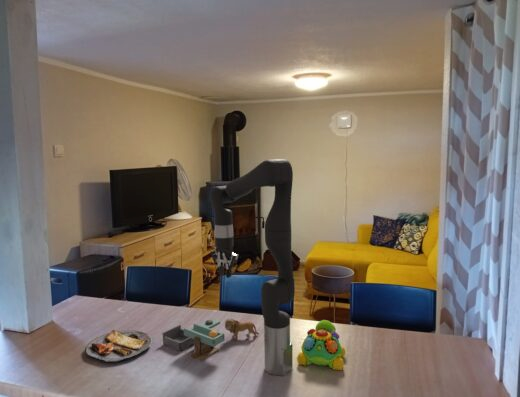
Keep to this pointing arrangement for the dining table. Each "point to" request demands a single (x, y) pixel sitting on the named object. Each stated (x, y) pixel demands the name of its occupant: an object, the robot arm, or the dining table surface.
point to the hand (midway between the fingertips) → (225, 276)
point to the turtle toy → (322, 347)
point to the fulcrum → (202, 350)
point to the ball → (213, 334)
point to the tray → (177, 339)
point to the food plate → (118, 345)
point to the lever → (205, 332)
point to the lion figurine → (239, 327)
